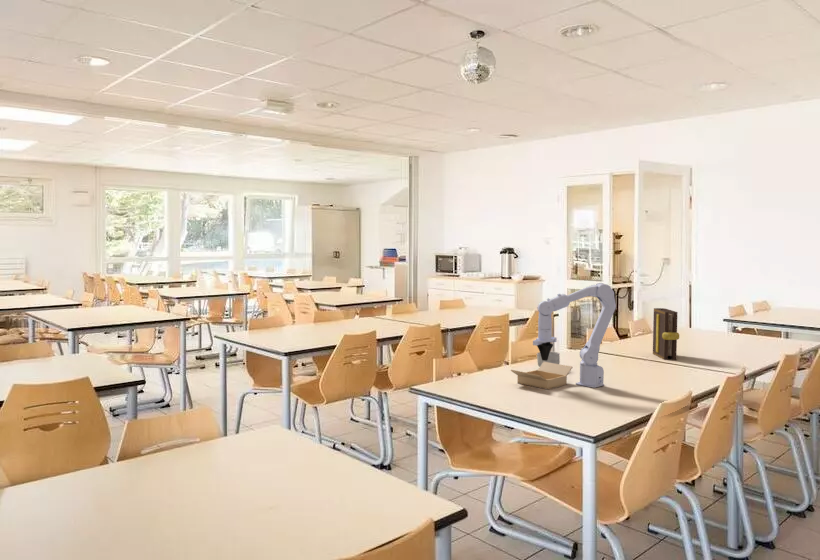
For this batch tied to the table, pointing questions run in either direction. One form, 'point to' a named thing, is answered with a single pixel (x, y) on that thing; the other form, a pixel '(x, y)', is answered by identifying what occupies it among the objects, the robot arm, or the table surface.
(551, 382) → the carton
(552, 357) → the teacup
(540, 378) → the flap left
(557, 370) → the flap right
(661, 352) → the book
